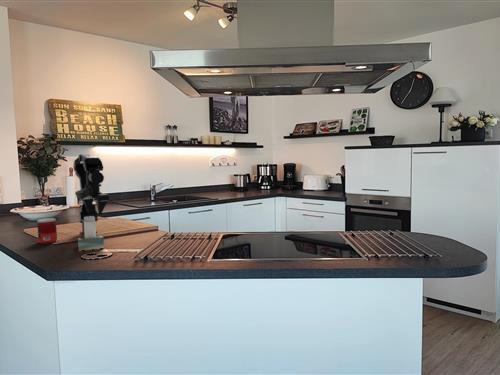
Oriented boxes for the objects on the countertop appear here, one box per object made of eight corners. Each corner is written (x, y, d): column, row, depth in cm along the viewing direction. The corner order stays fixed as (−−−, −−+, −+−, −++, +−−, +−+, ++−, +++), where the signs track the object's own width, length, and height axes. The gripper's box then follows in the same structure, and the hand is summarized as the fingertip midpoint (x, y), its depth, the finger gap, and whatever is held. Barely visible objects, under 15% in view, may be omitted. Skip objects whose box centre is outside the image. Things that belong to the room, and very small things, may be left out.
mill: (82, 245, 169) (81, 217, 168) (89, 243, 174) (88, 215, 172) (91, 246, 168) (90, 218, 167) (98, 243, 173) (97, 216, 171)
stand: (78, 245, 174) (77, 234, 174) (102, 243, 179) (101, 232, 178) (78, 251, 165) (78, 239, 164) (103, 248, 169) (103, 237, 168)
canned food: (60, 240, 183) (59, 218, 182) (45, 244, 176) (44, 221, 175) (50, 239, 186) (48, 217, 185) (35, 243, 179) (33, 220, 178)
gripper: (66, 182, 181) (68, 214, 183) (88, 184, 171) (90, 218, 172) (87, 181, 191) (89, 211, 192) (110, 182, 180) (111, 214, 182)
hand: (94, 213), depth 184 cm, fingers open, 9 cm apart
